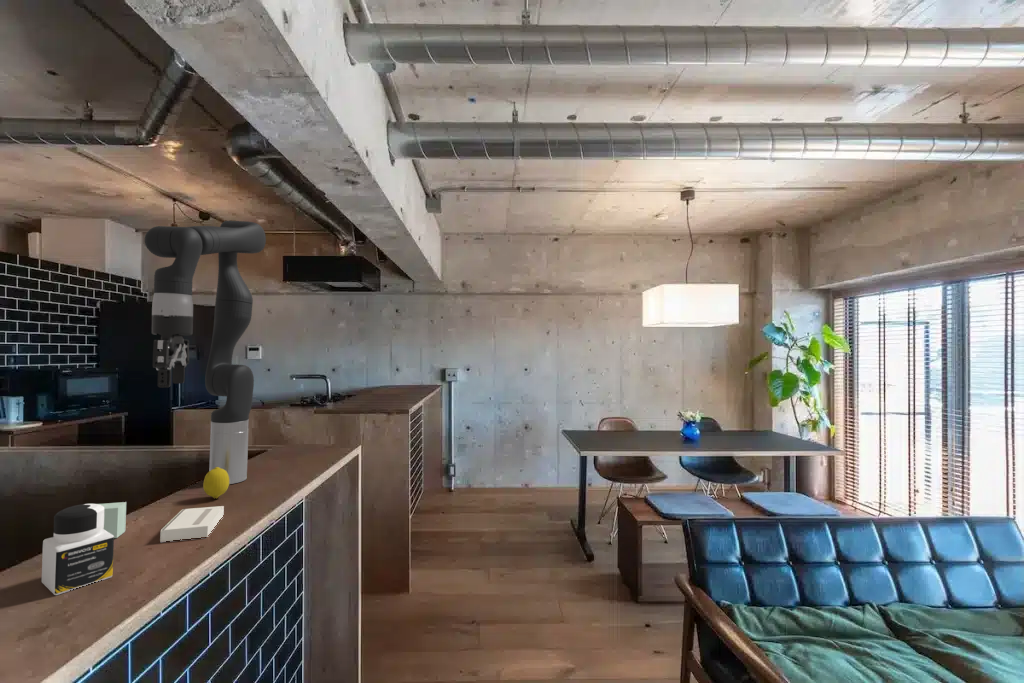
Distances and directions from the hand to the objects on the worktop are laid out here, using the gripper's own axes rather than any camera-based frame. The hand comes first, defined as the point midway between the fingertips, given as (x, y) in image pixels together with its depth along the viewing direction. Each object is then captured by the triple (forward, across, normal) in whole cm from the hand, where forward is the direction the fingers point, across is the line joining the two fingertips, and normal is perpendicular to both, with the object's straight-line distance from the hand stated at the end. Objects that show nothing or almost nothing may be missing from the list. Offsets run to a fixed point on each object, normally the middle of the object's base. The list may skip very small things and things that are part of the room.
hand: (171, 385), depth 104 cm
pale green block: (+29, +10, -7) cm, 32 cm away
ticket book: (+30, +10, +8) cm, 32 cm away
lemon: (+30, -10, +7) cm, 32 cm away
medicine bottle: (+29, +29, -3) cm, 42 cm away
